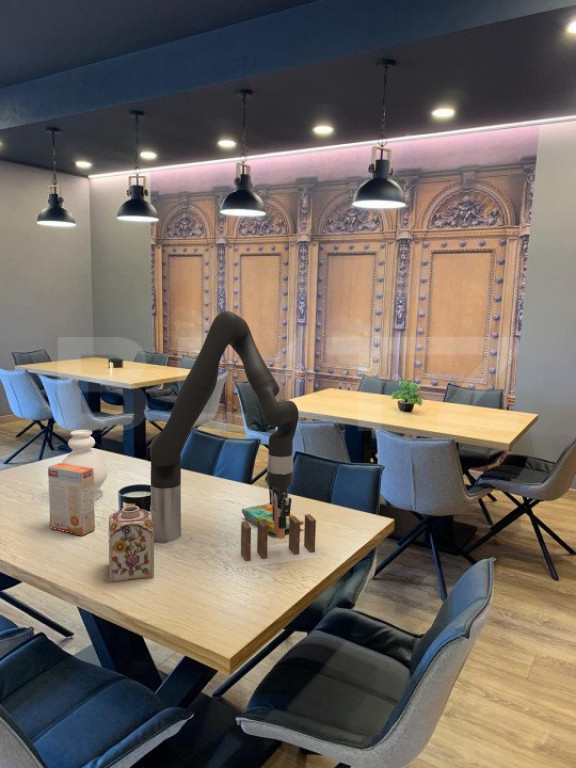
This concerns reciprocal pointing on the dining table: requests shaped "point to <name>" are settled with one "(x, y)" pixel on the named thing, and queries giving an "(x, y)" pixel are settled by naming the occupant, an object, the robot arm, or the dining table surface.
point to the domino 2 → (262, 539)
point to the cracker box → (71, 498)
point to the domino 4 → (294, 534)
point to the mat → (272, 555)
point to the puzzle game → (264, 516)
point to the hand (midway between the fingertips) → (279, 524)
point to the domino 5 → (309, 533)
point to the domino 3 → (277, 530)
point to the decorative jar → (131, 544)
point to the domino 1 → (246, 541)
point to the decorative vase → (86, 457)
